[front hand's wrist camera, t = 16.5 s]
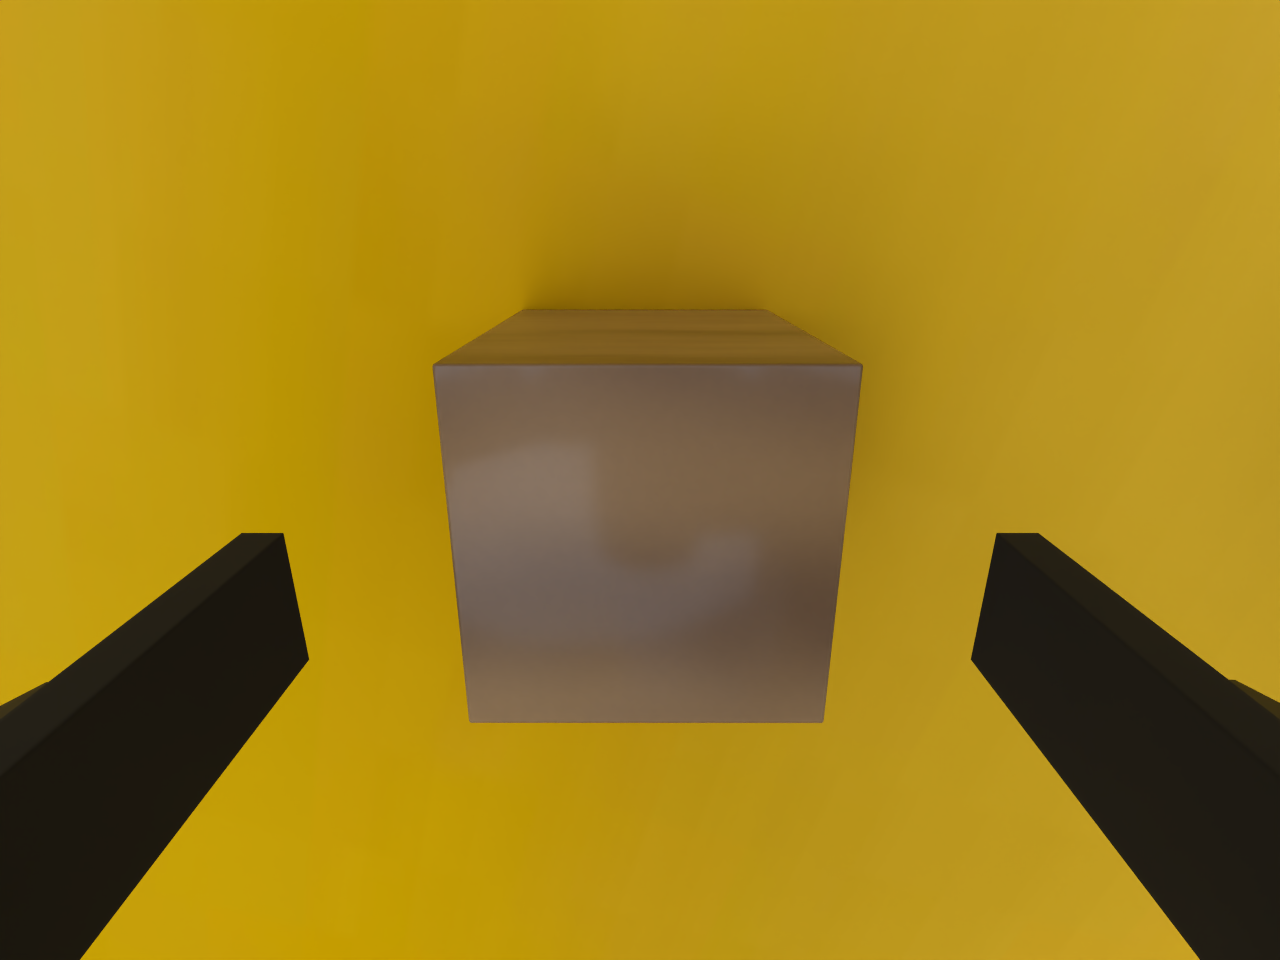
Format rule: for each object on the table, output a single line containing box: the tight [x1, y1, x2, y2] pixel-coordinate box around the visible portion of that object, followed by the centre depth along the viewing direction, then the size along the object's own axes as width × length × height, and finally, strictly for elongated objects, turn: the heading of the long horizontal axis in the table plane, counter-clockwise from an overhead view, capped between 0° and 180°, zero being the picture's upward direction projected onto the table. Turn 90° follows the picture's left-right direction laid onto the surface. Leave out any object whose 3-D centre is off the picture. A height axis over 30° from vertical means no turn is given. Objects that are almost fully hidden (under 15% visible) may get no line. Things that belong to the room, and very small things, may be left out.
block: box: [433, 310, 863, 723], centre depth 20 cm, size 9×8×11 cm
